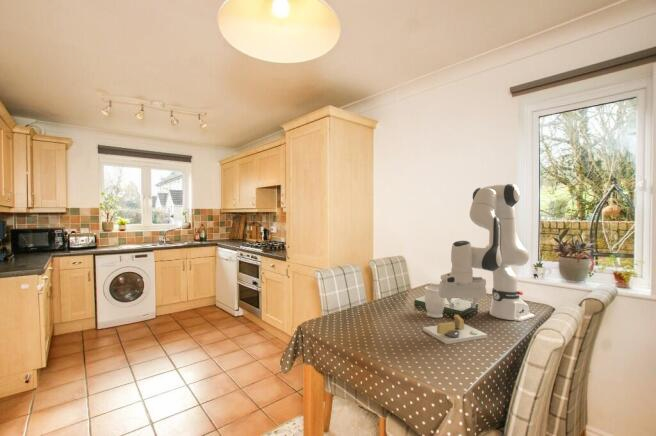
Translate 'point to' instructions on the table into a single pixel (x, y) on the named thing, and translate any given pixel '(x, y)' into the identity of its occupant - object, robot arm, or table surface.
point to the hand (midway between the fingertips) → (462, 307)
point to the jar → (434, 302)
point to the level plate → (464, 334)
